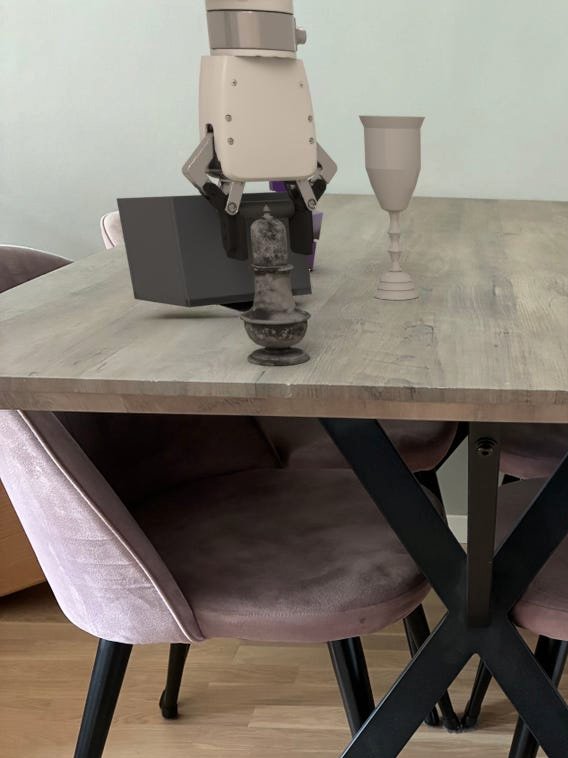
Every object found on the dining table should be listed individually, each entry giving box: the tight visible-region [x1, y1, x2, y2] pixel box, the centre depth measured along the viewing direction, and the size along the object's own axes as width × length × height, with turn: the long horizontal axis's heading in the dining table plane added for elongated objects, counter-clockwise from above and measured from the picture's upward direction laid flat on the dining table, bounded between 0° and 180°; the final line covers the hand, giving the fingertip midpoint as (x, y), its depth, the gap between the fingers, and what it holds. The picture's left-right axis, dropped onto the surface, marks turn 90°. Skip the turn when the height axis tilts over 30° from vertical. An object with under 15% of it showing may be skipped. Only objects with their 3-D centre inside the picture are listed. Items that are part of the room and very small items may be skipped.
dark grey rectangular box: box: [116, 191, 313, 309], centre depth 99 cm, size 19×14×10 cm
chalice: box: [358, 115, 426, 301], centre depth 104 cm, size 7×7×18 cm
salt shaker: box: [238, 205, 312, 367], centre depth 79 cm, size 6×6×12 cm
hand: (270, 254), depth 93 cm, fingers open, 6 cm apart
